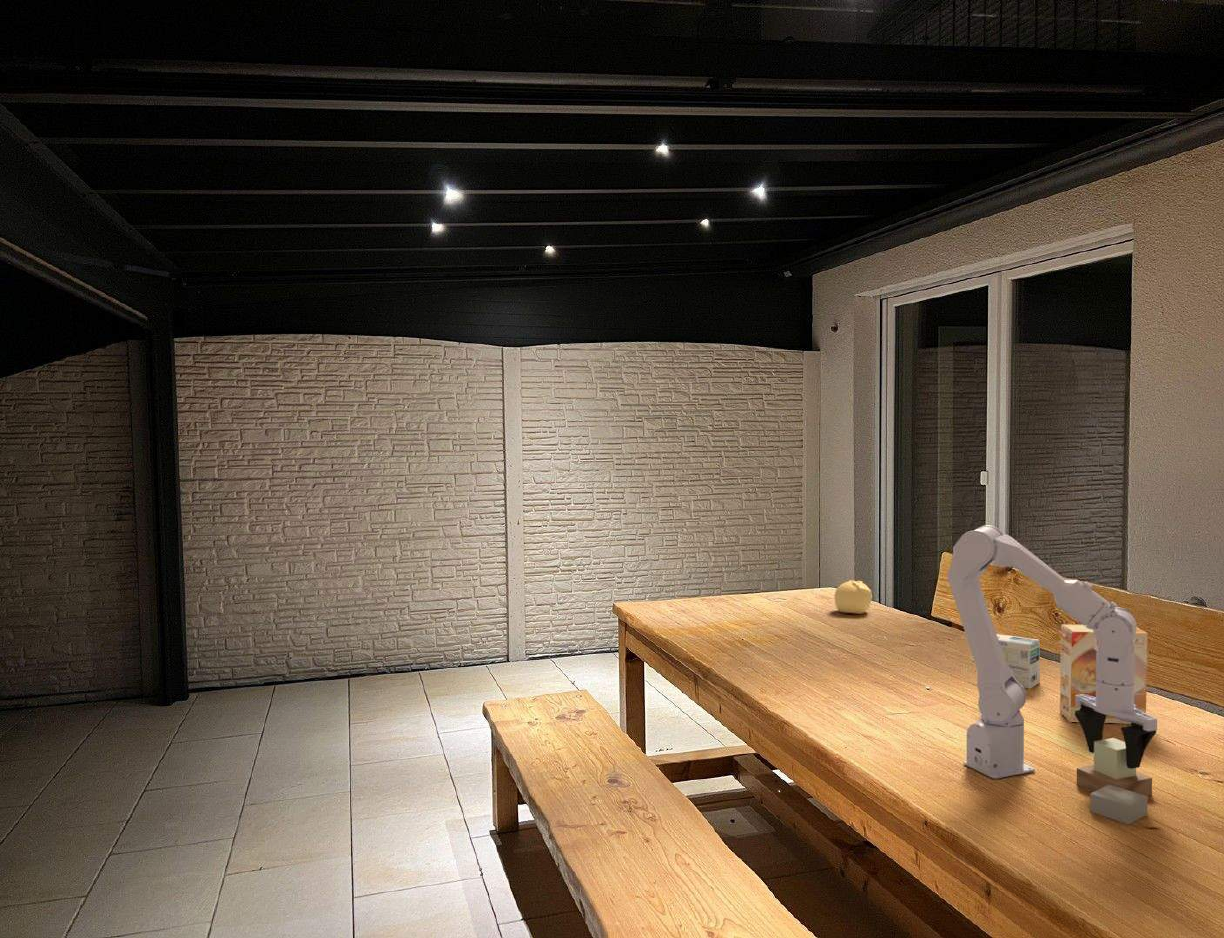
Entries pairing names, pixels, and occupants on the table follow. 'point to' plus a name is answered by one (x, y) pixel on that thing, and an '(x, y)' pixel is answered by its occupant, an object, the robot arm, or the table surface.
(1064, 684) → the coffeecake box
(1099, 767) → the sage block
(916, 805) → the table surface
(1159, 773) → the table surface
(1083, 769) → the walnut block
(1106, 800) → the slate block
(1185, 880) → the table surface
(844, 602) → the pale yellow round lump
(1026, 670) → the light bulb box
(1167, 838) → the table surface
